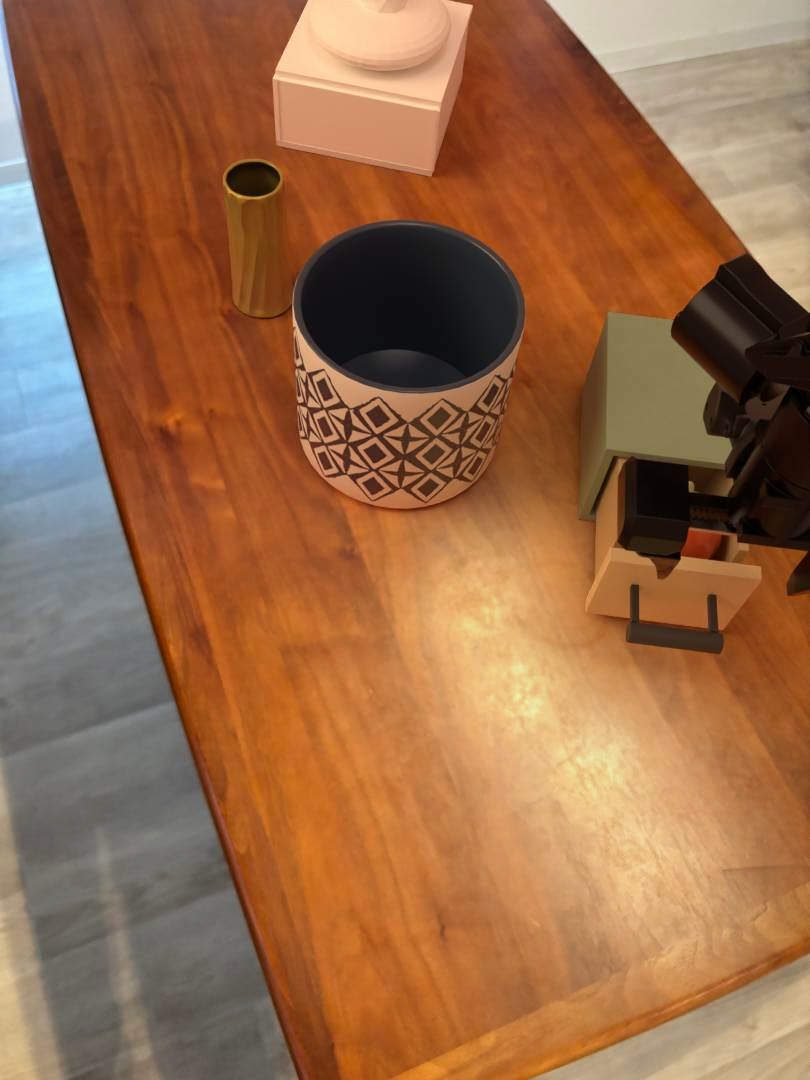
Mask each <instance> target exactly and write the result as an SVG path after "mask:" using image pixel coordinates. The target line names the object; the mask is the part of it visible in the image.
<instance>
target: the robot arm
mask: <svg viewBox="0 0 810 1080" xmlns="http://www.w3.org/2000/svg"><path fill="white" fill-rule="evenodd" d="M673 320H674V321H673V323H672V327H671V337H672V338H673V340H674V341H675V342H676V343H677V344H678V345H679V346H680V347H681V348H682V349H683V350H684V351H685V352H686V353H687V354H688V355H689V356H690V357H691V358H692V359H693V360H694V361H695V362H696V363H697V364H698V365H699V366H700V367H701V368H703V369H704V370H705V371H706V372H707V373H708V374H709V375H710V376H711V377H712V378H713V379H714V380H715V381H716V382H715V384H714V386H713V388H712V389H711V391H710V393H709V395H708V397H707V401H706V404H705V407H704V410H703V421H704V425H705V428H706V432H707V434H708V435H711V436H719V437H725V438H729V439H730V442H731V446H732V450H731V452H730V454H729V456H728V458H727V459H726V461H725V477H726V478H730V479H733V485H732V487H731V489H730V491H729V493H728V495H727V497H725V496H717V495H709V494H701V493H693V492H689V476H688V465H687V464H686V463H685V462H681V461H673V460H665V459H657V458H649V457H641V456H632V457H630V458H629V459H628V460H627V461H626V462H624V463H623V465H622V468H621V470H620V473H619V475H618V498H617V542H618V543H619V544H620V545H621V546H622V547H623V548H624V549H625V550H626V551H634V552H636V554H637V555H639V556H640V557H645V558H650V560H651V561H652V562H653V564H654V565H655V567H656V571H657V579H660V580H663V579H665V578H667V577H668V576H669V575H670V574H671V572H672V571H673V569H674V568H675V567H676V566H677V564H678V563H679V562H680V560H681V551H682V549H683V547H684V545H685V544H686V541H687V536H688V531H696V532H704V533H712V534H720V535H728V536H736V537H737V543H745V544H749V545H754V546H762V547H768V548H769V547H771V548H779V549H786V550H794V551H802V552H806V554H805V555H804V556H803V557H802V558H801V560H800V561H799V563H798V564H797V565H796V566H795V568H794V569H793V571H792V573H791V574H790V576H789V578H788V579H787V581H786V585H785V586H786V595H787V596H788V597H799V596H804V595H810V312H809V311H808V310H807V309H806V308H805V307H804V306H803V305H802V304H800V303H799V302H798V301H797V300H796V299H795V298H794V297H792V295H790V294H789V292H788V291H786V290H785V289H784V288H782V287H781V286H780V285H779V284H778V283H777V282H776V281H775V280H773V278H772V277H770V276H769V275H768V273H767V272H766V271H765V269H764V268H763V266H762V265H761V264H760V263H759V262H758V261H757V260H756V259H754V258H753V257H752V256H751V255H750V254H749V253H748V252H745V253H742V254H740V255H738V256H735V257H734V258H731V259H730V260H727V261H725V262H723V263H721V264H719V266H718V268H717V269H716V273H715V275H714V277H713V278H712V279H711V280H710V281H708V282H707V283H706V284H705V285H704V286H702V287H701V288H700V289H699V290H698V291H697V292H696V293H695V294H694V296H692V298H691V299H690V300H689V301H688V303H687V304H685V307H684V308H683V309H682V310H680V311H679V312H678V313H676V315H675V317H674V319H673Z"/></svg>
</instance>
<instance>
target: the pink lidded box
mask: <svg viewBox="0 0 810 1080" xmlns="http://www.w3.org/2000/svg"><path fill="white" fill-rule="evenodd" d="M473 7H474V4H470V3H464V2H458V1H453V0H307V2H306V4H305V6H304V8H303V11H302V12H301V15H300V17H299V19H298V21H297V23H296V25H295V27H294V29H293V31H292V34H291V36H290V38H289V40H288V42H287V44H286V45H285V48H284V50H283V53H282V55H281V56H280V58H279V60H278V63H277V64H276V67H275V69H274V70H275V71H274V72H275V73H274V74H273V77H272V79H271V81H272V94H273V95H272V97H273V113H274V128H275V131H274V132H275V142H276V143H275V145H276V146H277V147H281V148H287V149H290V150H291V149H292V150H295V151H301V152H307V153H310V154H317V155H321V156H326V157H331V158H336V159H341V160H346V161H352V162H355V163H360V164H365V165H369V166H370V165H371V166H375V167H381V168H385V169H391V170H395V171H399V172H400V171H401V172H404V173H405V172H406V173H411V174H415V175H420V176H425V177H431V178H432V177H433V173H434V172H435V169H436V168H435V167H436V164H437V160H438V158H439V154H440V151H441V148H442V144H443V141H444V138H445V134H446V132H447V128H448V125H449V122H450V118H451V115H452V113H453V110H454V106H455V103H456V99H457V97H458V93H459V90H460V87H461V85H462V81H463V73H464V64H465V58H466V57H465V56H466V48H467V40H468V33H469V23H470V19H471V16H472V13H473Z"/></svg>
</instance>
